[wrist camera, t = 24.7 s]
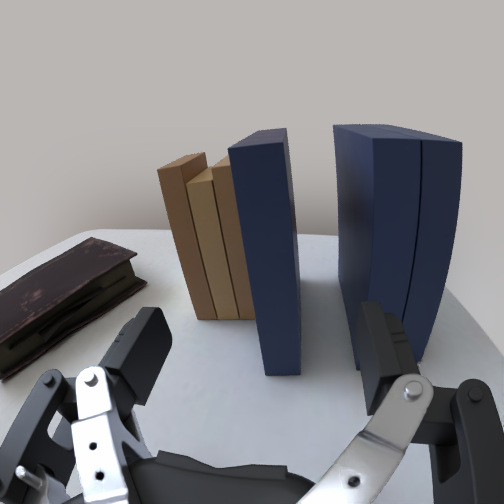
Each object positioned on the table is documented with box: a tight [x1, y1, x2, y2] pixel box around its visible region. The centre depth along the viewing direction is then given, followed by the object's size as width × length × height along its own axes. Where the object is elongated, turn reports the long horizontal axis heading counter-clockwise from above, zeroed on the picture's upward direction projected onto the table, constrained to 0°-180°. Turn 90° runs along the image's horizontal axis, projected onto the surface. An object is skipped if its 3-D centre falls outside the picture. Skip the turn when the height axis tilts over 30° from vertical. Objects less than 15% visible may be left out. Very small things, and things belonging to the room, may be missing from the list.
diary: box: [0, 237, 147, 380], centre depth 32 cm, size 19×25×5 cm
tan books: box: [157, 152, 256, 320], centre depth 28 cm, size 7×7×16 cm
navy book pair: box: [333, 124, 462, 370], centre depth 22 cm, size 6×14×17 cm, turn 172°
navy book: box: [228, 128, 301, 375], centre depth 23 cm, size 3×14×17 cm, turn 172°
